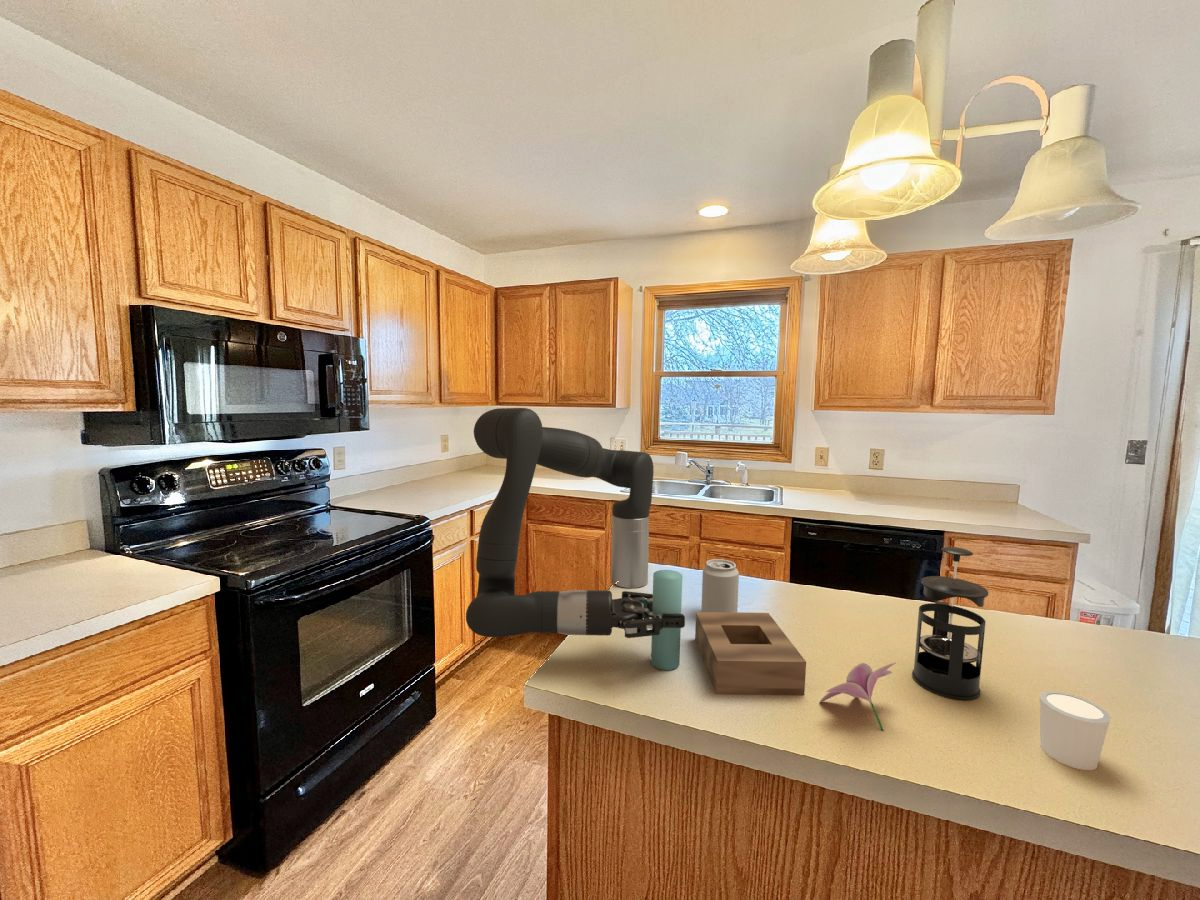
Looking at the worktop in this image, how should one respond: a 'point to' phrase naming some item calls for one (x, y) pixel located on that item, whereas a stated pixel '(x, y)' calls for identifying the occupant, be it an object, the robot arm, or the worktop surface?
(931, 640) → the french press
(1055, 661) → the worktop surface
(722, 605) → the can
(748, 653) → the well block
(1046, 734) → the white cylinder
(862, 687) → the lily
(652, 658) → the peg
